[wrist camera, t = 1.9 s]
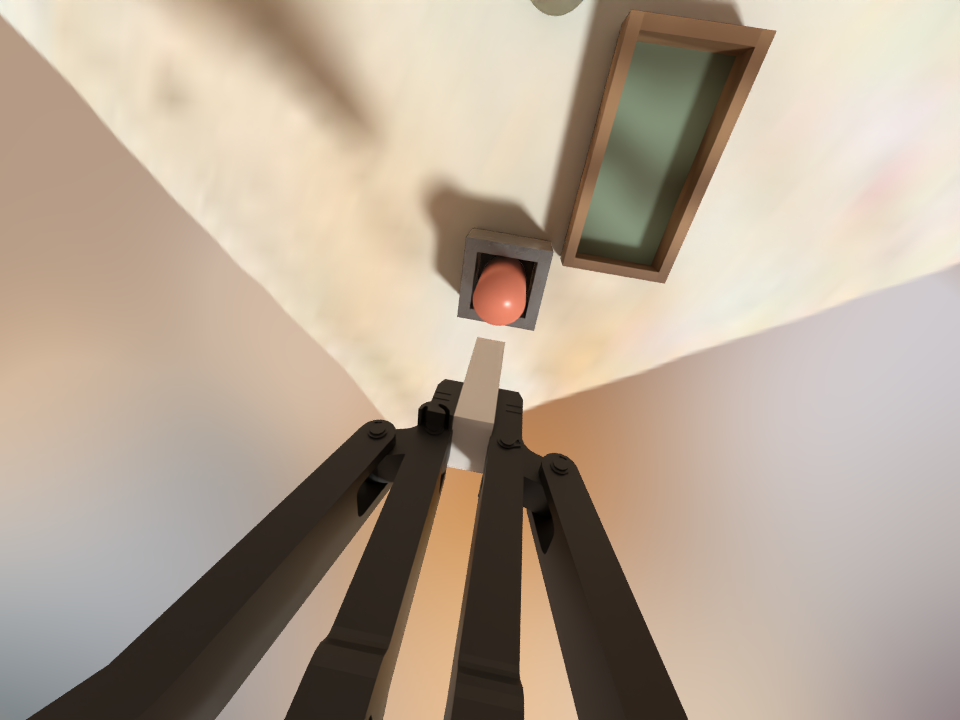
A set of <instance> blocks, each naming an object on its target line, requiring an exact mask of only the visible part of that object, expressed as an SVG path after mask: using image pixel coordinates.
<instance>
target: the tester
mask: <svg viewBox="0 0 960 720" xmlns="http://www.w3.org/2000/svg"><path fill="white" fill-rule="evenodd" d="M481 252H482V253H488V254H493V255H499V256H505V257H511V258H516V259H522V260H528V261H533V262H535V263H534V267H533V272H532V276H531V280H530V285H529V289H528V294H527V298H526V303H525V308H524V311H523V313H522V314H521V316H520V317H519V318H518V319H517V320H516V321H514V322H512V323H510V324H507V325H505V326H511V327H516V328H522V329H527V330H533V331H534V328H535V324H536V320H537V316H538V312H539V308H540V304H541V300H542V296H543V292H544V288H545V284H546V280H547V276H548V272H549V268H550V264H551V260H552V256H553V248H552V244H551V241H546V240H540V239H535V238H529V237H523V236H517V235H511V234H506V233H500V232H494V231H488V230H482V229H476V228H473V229H472V230H471V232H470V233H469V234H468V235H467V237H466V244H465V253H464V262H463V271H462V280H461V289H460V297H459V306H458V315H457V317H461V318H467V319H472V320H478V321H483V322H485V321H484V320H482V319H481V318H480V317H479V316H478V314H477V313H476V311H475V309H474V306H473V294H474V291H475V289H476V286H477V280H478V273H479V266H480V258H481Z"/></svg>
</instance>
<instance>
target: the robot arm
mask: <svg viewBox="0 0 960 720" xmlns="http://www.w3.org/2000/svg"><path fill="white" fill-rule="evenodd" d="M504 346H505V342H500V341H495V340H490V339H484V338H479V337H477V340H476V344H475V347H474V350H473V354H472V357H471V360H470V364H469V367H468V370H467V374H466V377H465V380H464V383H463V382H458V381H453V380H447V379H445V380H443V381H442V382H441V383H439V384H438V386H437V389H436V391H435V393H434V396H433V398H432V401H430V402H426V403H424V404H422V405H421V406H420V408H419V410H418V425H417V426H415V427H412V428H407V429H396V428H395V427H394V425H393V424H392V423H390V422H388V421H385V420H373V421H370V422H367V423H366V424H364V425H363V426H362V427H361V428H359V429H358V430H357V431H356V432H355V433H354V434H353V435H352V436H351V437H350V438H349V439H348V440H347V441H346V442H345V443H344V444H342V446H340V448H338V449H337V450H336V451H335V452H334V453H333V454H332V455H331V456H330V457H329V458H328V459H327V460H325V462H323V463H322V464H321V465H320V466H319V467H318V468H317V469H316V470H315V471H314V472H313V473H312V474H311V475H310V476H309V477H308V478H306V479H305V480H304V481H303V482H302V483H301V484H300V485H299V486H298V487H297V488H296V489H295V490H294V491H293V492H292V493H291V494H289V495H288V496H287V497H286V498H285V499H284V500H283V501H282V502H281V503H280V504H279V505H278V506H277V507H276V508H275V509H274V510H272V511H271V512H270V513H269V514H268V515H267V516H266V517H265V518H264V519H263V520H262V521H261V522H260V523H259V524H258V525H257V526H256V527H254V528H253V529H252V530H251V531H250V532H249V533H248V534H247V535H246V536H245V537H244V538H243V539H242V540H241V541H240V542H238V543H237V544H236V545H235V546H234V547H233V548H232V549H231V550H230V551H229V552H228V553H227V554H226V555H225V556H224V557H222V558H221V559H220V560H219V562H217V563H216V564H215V565H214V566H213V567H212V568H211V569H210V570H209V571H208V572H207V573H205V574H204V575H203V576H202V577H201V578H200V579H199V580H198V581H197V582H196V583H195V584H194V585H193V586H192V587H191V588H190V589H189V590H187V591H186V592H185V593H184V594H183V595H182V596H181V597H180V598H179V599H178V600H177V601H176V602H175V603H174V604H173V605H172V606H171V607H169V608H168V609H167V610H166V611H165V612H164V613H163V614H162V615H161V616H160V617H159V618H158V619H157V620H156V621H155V622H153V623H152V624H151V625H150V626H149V627H148V628H147V629H146V630H145V631H144V632H143V633H142V634H141V635H140V636H139V637H137V638H136V639H135V640H134V641H133V642H132V643H131V644H130V645H129V646H128V647H127V648H126V649H125V650H124V651H123V652H122V653H120V654H119V656H117V657H116V658H115V659H114V660H113V661H112V662H111V663H110V664H109V665H107V666H106V667H105V668H103V669H101V670H100V671H98V672H97V673H95V674H94V675H92V676H91V677H90V678H88V679H86V680H85V681H83V682H82V683H80V684H79V685H77V686H76V687H74V688H73V689H71V690H70V691H68V692H67V693H65V694H64V695H63V696H61V697H59V698H58V699H57V700H55V701H54V702H52V703H50V704H49V705H48V706H46V707H44V708H43V709H41V710H40V711H39V712H37V713H35V714H34V715H32V716H31V717H30V718H28V719H26V720H215V719H216V717H217V716H218V715H219V714H220V712H221V711H222V710H223V709H224V707H225V706H226V705H227V703H228V702H229V701H230V699H231V698H232V697H233V695H234V694H235V693H236V692H237V690H238V689H239V688H240V686H241V685H242V684H243V682H244V681H245V679H246V678H247V677H248V675H249V674H250V673H251V671H252V670H253V669H254V668H255V666H256V665H257V664H258V662H259V661H260V660H261V658H262V657H263V656H264V654H265V653H266V652H267V651H268V649H269V648H270V647H271V645H272V644H273V642H274V641H275V640H276V639H277V637H278V636H279V635H280V633H281V632H282V631H283V629H284V628H285V627H286V625H287V624H288V623H289V621H290V620H291V619H292V617H293V616H294V615H295V613H296V612H297V611H298V610H299V608H300V607H301V606H302V604H303V603H304V602H305V600H306V599H307V598H308V596H309V595H310V594H311V592H312V591H313V590H314V588H315V587H316V586H317V584H318V583H319V582H320V580H321V579H322V578H323V576H324V575H325V574H326V572H327V571H328V570H329V568H330V567H331V566H332V565H333V563H334V562H335V560H336V559H337V558H338V557H339V555H340V554H341V553H342V551H343V550H344V549H345V547H346V546H347V545H348V544H349V542H350V541H351V540H352V538H353V537H354V536H355V534H356V533H357V532H358V530H359V529H360V528H361V526H362V525H363V524H364V522H365V521H366V520H367V518H368V517H369V516H370V514H371V513H372V512H373V510H374V509H375V508H376V507H377V505H378V504H379V502H380V501H381V500H382V499H383V497H384V496H385V495H386V493H387V492H388V491H389V489H390V488H391V489H390V492H389V494H388V496H387V499H386V501H385V504H384V506H383V508H382V511H381V513H380V516H379V518H378V520H377V522H376V525H375V527H374V530H373V532H372V534H371V537H370V539H369V542H368V544H367V546H366V548H365V551H364V553H363V556H362V558H361V560H360V563H359V565H358V568H357V570H356V572H355V575H354V577H353V579H352V582H351V584H350V586H349V589H348V591H347V593H346V596H345V598H344V600H343V603H342V605H341V608H340V610H339V613H338V615H337V617H336V619H335V622H334V624H333V626H332V628H331V631H330V633H329V634H328V636H327V637H326V638H325V639H324V640H323V641H322V642H320V644H319V646H318V647H317V649H316V650H315V652H314V654H313V656H312V658H311V661H310V663H309V665H308V667H307V669H306V671H305V674H304V676H303V678H302V680H301V683H300V685H299V687H298V690H297V692H296V694H295V696H294V699H293V701H292V703H291V706H290V708H289V710H288V712H287V715H286V717H285V719H284V720H383V716H384V712H385V707H386V702H387V697H388V692H389V688H390V684H391V680H392V676H393V672H394V669H395V665H396V661H397V657H398V653H399V650H400V646H401V642H402V638H403V635H404V631H405V627H406V623H407V620H408V615H409V612H410V608H411V604H412V601H413V597H414V593H415V589H416V585H417V582H418V578H419V574H420V570H421V567H422V563H423V559H424V555H425V552H426V548H427V544H428V540H429V536H430V532H431V529H432V525H433V521H434V517H435V514H436V510H437V506H438V502H439V499H440V495H441V491H442V487H443V484H444V480H445V474H446V468H447V466H448V467H453V468H458V469H463V470H468V471H473V472H478V473H483V476H482V480H481V485H480V490H479V494H478V497H479V498H478V504H477V511H476V518H475V524H474V530H473V537H472V543H471V549H470V556H469V563H468V569H467V575H466V582H465V588H464V595H463V601H462V608H461V615H460V621H459V627H458V633H457V640H456V646H455V652H454V659H453V665H452V672H451V678H450V685H449V691H448V698H447V704H446V709H445V715H444V720H524V694H523V687H522V684H521V681H520V674H519V661H520V613H521V570H522V524H523V523H522V522H523V507H525V508H527V514H528V518H529V522H530V527H531V531H532V535H533V539H534V543H535V547H536V551H537V555H538V559H539V563H540V567H541V571H542V575H543V579H544V583H545V587H546V591H547V595H548V599H549V603H550V607H551V611H552V615H553V619H554V623H555V627H556V631H557V635H558V639H559V643H560V647H561V651H562V655H563V659H564V663H565V667H566V671H567V675H568V679H569V683H570V687H571V691H572V695H573V699H574V703H575V707H576V711H577V715H578V719H579V720H688V718H687V716H686V713H685V711H684V709H683V707H682V705H681V702H680V700H679V698H678V696H677V693H676V691H675V689H674V686H673V684H672V682H671V679H670V677H669V675H668V673H667V670H666V668H665V666H664V664H663V661H662V659H661V657H660V655H659V652H658V650H657V648H656V646H655V643H654V641H653V639H652V636H651V634H650V632H649V630H648V627H647V625H646V623H645V621H644V618H643V616H642V614H641V611H640V609H639V607H638V605H637V602H636V600H635V598H634V596H633V593H632V591H631V589H630V587H629V584H628V582H627V580H626V577H625V575H624V573H623V571H622V568H621V566H620V564H619V562H618V559H617V557H616V555H615V553H614V550H613V548H612V546H611V543H610V541H609V539H608V537H607V534H606V532H605V530H604V528H603V525H602V523H601V521H600V518H599V516H598V514H597V512H596V509H595V507H594V505H593V503H592V500H591V498H590V496H589V493H588V491H587V489H586V487H585V484H584V482H583V480H582V478H581V475H580V473H579V471H578V469H577V467H576V465H575V464H574V462H573V461H572V460H570V459H569V458H568V457H567V456H564V455H562V454H558V453H550V454H547V455H546V456H544V457H542V456H540V455H537V454H535V453H534V452H532V451H530V450H529V449H528V448H527V447H526V446H525V445H524V443H523V440H522V413H523V409H522V408H523V399H522V397H521V396H520V394H519V392H514V391H509V390H504V389H499V382H500V375H501V368H502V360H503V353H504ZM447 464H448V465H447Z"/></svg>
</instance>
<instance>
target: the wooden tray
mask: <svg viewBox="0 0 960 720" xmlns="http://www.w3.org/2000/svg"><path fill="white" fill-rule="evenodd" d="M775 33H776V31H774V30H767V29H761V28H754V27H747V26H740V25H733V24H727V23H720V22H713V21H706V20H699V19H692V18H686V17H679V16H672V15H665V14H658V13H651V12H645V11H638V10H631V11H630V13H629V14H628V16H627V17H626V19H625V20H624V22H623V23H622V26H621V30H620V33H619V37H618V41H617V45H616V49H615V52H614V56H613V60H612V64H611V68H610V71H609V75H608V79H607V83H606V87H605V90H604V94H603V98H602V102H601V106H600V109H599V113H598V117H597V121H596V125H595V128H594V132H593V136H592V140H591V144H590V148H589V151H588V155H587V159H586V163H585V167H584V170H583V174H582V178H581V182H580V186H579V189H578V193H577V197H576V201H575V205H574V208H573V212H572V216H571V220H570V224H569V227H568V231H567V235H566V239H565V243H564V246H563V250H562V254H561V258H560V259H561V262H562V265H563V266H567V267H573V268H579V269H584V270H590V271H596V272H602V273H607V274H613V275H619V276H625V277H630V278H636V279H642V280H647V281H653V282H659V283H665V282H666V280H667V277H668V275H669V273H670V271H671V268H672V266H673V264H674V261H675V259H676V257H677V255H678V252H679V250H680V248H681V246H682V243H683V241H684V239H685V237H686V234H687V232H688V230H689V228H690V225H691V223H692V221H693V219H694V216H695V214H696V212H697V210H698V207H699V205H700V203H701V201H702V198H703V196H704V194H705V191H706V189H707V187H708V185H709V182H710V180H711V178H712V176H713V173H714V171H715V169H716V167H717V164H718V162H719V160H720V158H721V155H722V153H723V151H724V149H725V146H726V144H727V142H728V140H729V137H730V135H731V133H732V130H733V128H734V126H735V124H736V121H737V119H738V117H739V115H740V112H741V110H742V108H743V106H744V103H745V101H746V99H747V97H748V94H749V92H750V90H751V88H752V85H753V83H754V81H755V79H756V76H757V74H758V72H759V70H760V67H761V65H762V63H763V60H764V58H765V56H766V54H767V51H768V49H769V47H770V45H771V42H772V40H773V38H774V36H775Z"/></svg>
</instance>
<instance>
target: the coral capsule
mask: <svg viewBox="0 0 960 720" xmlns="http://www.w3.org/2000/svg"><path fill="white" fill-rule="evenodd" d="M525 303H526V272H525V269H524V267H523V265H522V264H521V262H520V261H519V260H517V259H516V258H511V257H505V256H497V257H495V258H493V259H491V260H490V261H489V262H488V263H487V264H486V266H485V267H484V270H483V272H482V274H481V277H480V279H479V282H478V284H477V286H476V289H475V291H474V294H473V306H474V309H475V311H476V313H477V314H478V316H479V317H480V318H481V319H482V320H484V321H485V322H487V323H489V324H492V325H497V326H502V325H507V324H510V323H512V322H514V321H516V320H517V319H518V318H519V317H520V316H521V314H522V313H523V311H524V308H525Z"/></svg>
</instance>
